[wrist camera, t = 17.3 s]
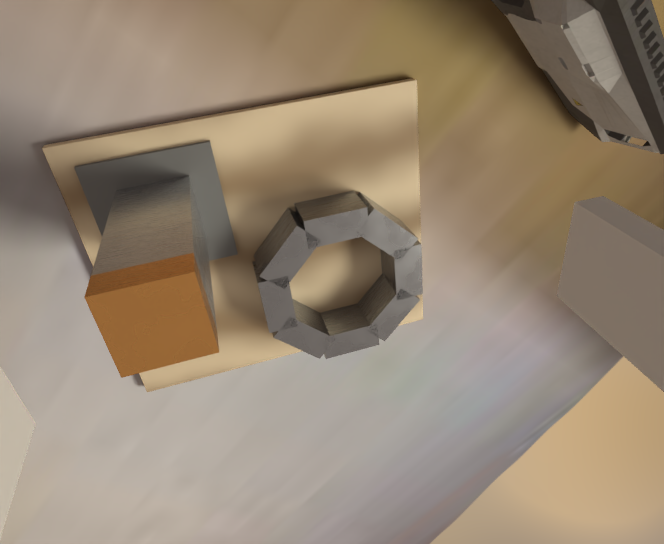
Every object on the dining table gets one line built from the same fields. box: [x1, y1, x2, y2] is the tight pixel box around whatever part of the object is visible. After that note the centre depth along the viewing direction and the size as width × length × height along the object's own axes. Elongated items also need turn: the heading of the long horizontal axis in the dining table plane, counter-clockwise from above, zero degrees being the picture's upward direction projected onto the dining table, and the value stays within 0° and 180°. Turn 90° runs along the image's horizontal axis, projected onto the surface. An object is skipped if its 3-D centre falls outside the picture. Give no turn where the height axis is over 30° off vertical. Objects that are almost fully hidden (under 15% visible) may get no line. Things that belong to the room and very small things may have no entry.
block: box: [85, 175, 219, 378], centre depth 30 cm, size 5×5×14 cm
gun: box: [491, 0, 664, 154], centre depth 33 cm, size 5×27×15 cm, turn 52°
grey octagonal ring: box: [252, 191, 423, 359], centre depth 41 cm, size 13×13×4 cm
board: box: [42, 78, 423, 392], centre depth 41 cm, size 22×26×1 cm
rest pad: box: [74, 140, 238, 261], centre depth 36 cm, size 9×9×1 cm
